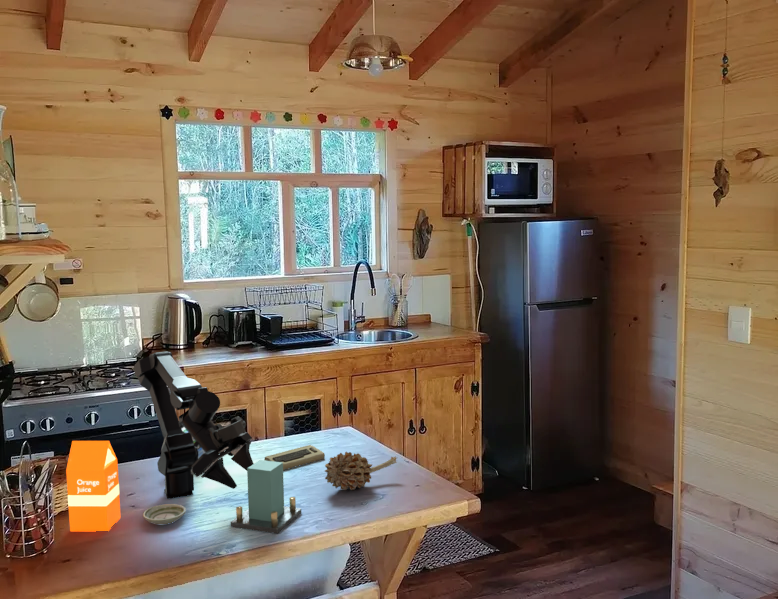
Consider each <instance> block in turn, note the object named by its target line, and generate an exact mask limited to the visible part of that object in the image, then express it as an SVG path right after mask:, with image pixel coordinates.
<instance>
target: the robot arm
mask: <svg viewBox="0 0 778 599" xmlns="http://www.w3.org/2000/svg"><path fill="white" fill-rule="evenodd" d="M133 369H134V374H135V376H136V378H137V380H138V382H139V384H140V386H141V387H143V388H144V389H146V390H147V391H148V392H149V394H150V395H149V396H150V398H151V401H152V405H153V407H154V410H155V413H156V416H157V420H158V423H159V426H160V430H161V434H162V437H163V443H162V446H161V450H160V452H161V454H160V456H159V458H158V461H157V471H158V472H159V473H160V474H161V475H162V476H164V494H165V497H166V498H165V499H167V500H172V499H179V498H183V497H191V496H193V495H194V491H195V483H194V482H195V481H194V476H195V477H196V478H198V477H200V476H201V479H203V478H206V479H207V480H208V479H209V480H211V481H213V482H217V483H219V484H221V485H223V486H226V487H228V488H230V489H236V488H237V487H238V486H237V483H236V482H235V480H234V479H233V477H232V475H231V474H230V473H229V471H228V470H227V468H225V465H224V458H223V457H225V456H229V457H231V458H230V459H231V460H232V461H233V462H234V463H236V465H238V466H240V467H241V468H242V469H244V470H246V471H247V468H248V467H250V466H251V465H253V464H255V463H254V460H253V458H252V455H251V453H250V445H251V444H252V439H253V437H252V436H251V435H250V433H249V432H248V431H247V432H246V429H245V428H246V425H247V423H246V421H244V419H243V418H242V417H240V416H236V417H233V418H231V419H230V424H227V425H226V426H223V424H220V423H216V424H215V423H214V422H213V418H214V416H215V415H216V413H217V411H218V410H219V408H220V407H221V400H220V397H218V395H217V394H216V393H215V392H213V391H209V390H208V387H207V386H206V387H205V386H204V387H203V386H202V384H201V383H200V382H199V381H197V380H196V379H193V378H190V377H187V375H186V373H185V372H184V371H183V370H182V369H181V367H180V366H179V364H178V363H177V362H176V361H175V359H174V358H173V353H172V352H171V351H166V350H165V351H158V352H153V353H151V354H149V355H148V356H146V357H144V358H140V359H138V361H137V362H136V363H135V364H134V367H133ZM176 410H177V411H181V410H185V411H184V413H182V414H180V415H179V416H178V414H177V412H176ZM183 427H185V429H186V430H187V431H188V433H184V432H183V431H182V428H183ZM192 437H193V438H194V439H195V441H196V442H195V443H194V442H193V439H192ZM199 445H200V446H201V448H202V449H203V450H204V451H205V452H206V453H204V454H202V455H201V456H200V458H199V459H198V450H197V448H196V447H198V446H199ZM191 470H192V472H193V473H192V472H191Z"/></svg>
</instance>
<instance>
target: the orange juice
mask: <svg viewBox="0 0 778 599" xmlns="http://www.w3.org/2000/svg"><path fill="white" fill-rule="evenodd" d="M68 455H69V456H68V459H67V460H68V461H67V465H66V469H65V474H66V485H67V486H66V487H67V488H66V489H67V506H68V518H69V531H70V532H76V533H77V532H86V533H87V532H89V533H90V532H93V533H94V532H96V531H108V532H109V531H110V530H111V529H112V528H113V527H114V526H115V525H116V524H117V523H118V522H119V520H121V518H122V517H121V503H120V501H121V500H120V497H121V496H120V493H121V492H120V482H119V467H118V466H119V465H118V464H119V463H118V458H117V456H116V453H115V452H114V449H113V447H112V445H111V442H110V440H72V441H71V446H70V451H69V454H68ZM115 523H116V524H115ZM114 524H115V525H114ZM113 525H114V526H113ZM112 526H113V527H112ZM111 527H112V528H111Z"/></svg>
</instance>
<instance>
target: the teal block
mask: <svg viewBox="0 0 778 599" xmlns="http://www.w3.org/2000/svg"><path fill="white" fill-rule="evenodd" d="M246 472H247V474H246V476H247V477H246V478H247V497H248V498H247V500H248V502H247V503H248V509H249V518H250V519H257V520H264V521H271V512H273V511H276V512H277V517H278V516H280V515H281V514H282V513H283V512H284V506H285V493H284V492H285V490H284V486H285V484H284V470H283V462H274V461H265V460H264V459H260V460H257V461H256V462H255V463H254V464H253V465H251V466H250V467H248V468H247V470H246Z"/></svg>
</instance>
